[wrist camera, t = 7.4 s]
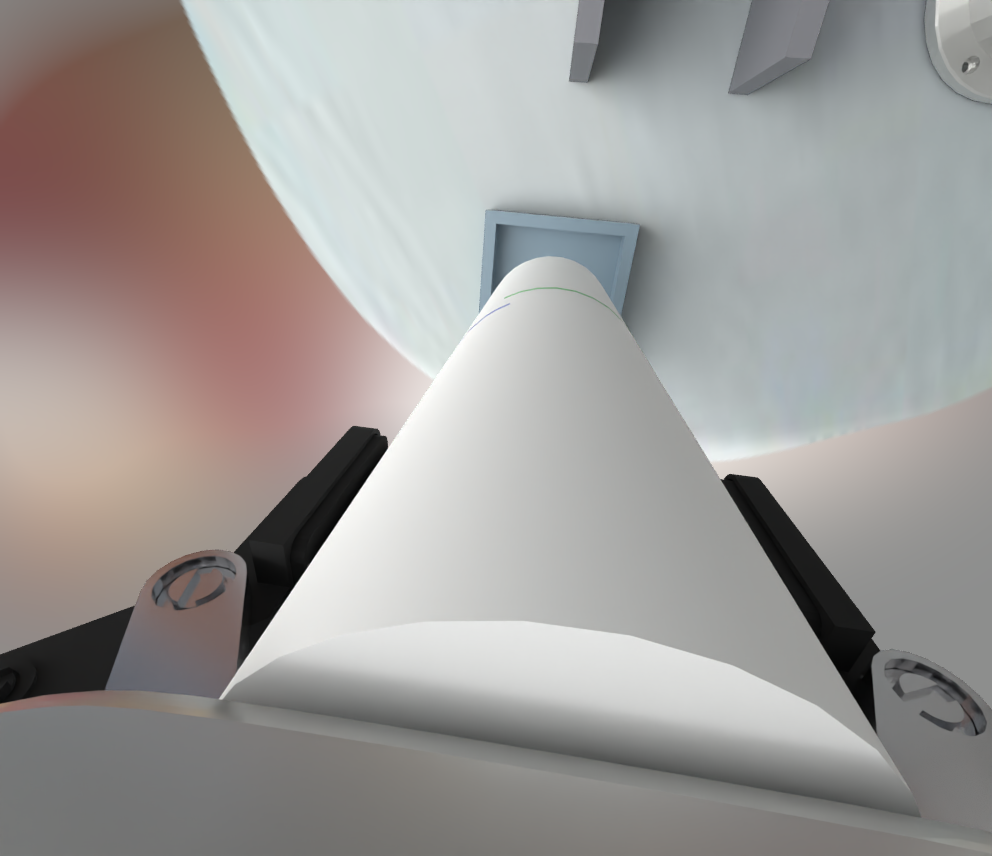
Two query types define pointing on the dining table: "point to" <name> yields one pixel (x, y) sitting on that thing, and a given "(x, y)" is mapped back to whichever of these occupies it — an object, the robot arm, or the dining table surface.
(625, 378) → the cylindrical container
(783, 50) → the bay
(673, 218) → the dining table surface
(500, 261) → the tray
